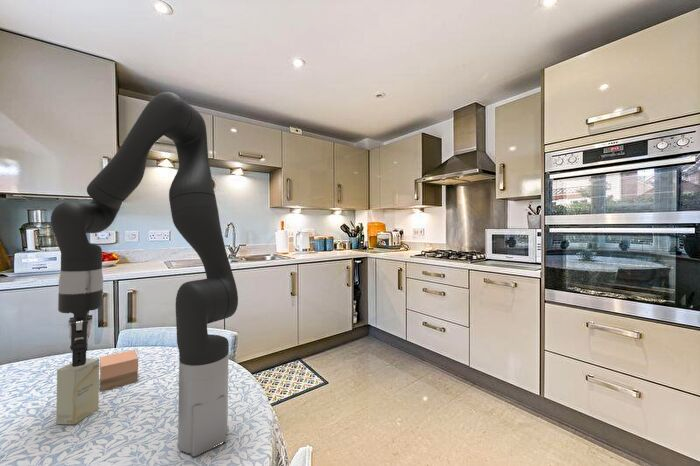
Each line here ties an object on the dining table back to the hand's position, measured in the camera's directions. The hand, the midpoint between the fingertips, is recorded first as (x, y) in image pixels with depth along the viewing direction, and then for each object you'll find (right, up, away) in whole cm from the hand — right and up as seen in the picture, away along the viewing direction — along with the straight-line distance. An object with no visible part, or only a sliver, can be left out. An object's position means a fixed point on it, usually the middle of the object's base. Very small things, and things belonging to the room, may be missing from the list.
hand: (80, 358), depth 67 cm
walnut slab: (-3, -13, +15) cm, 21 cm away
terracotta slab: (-3, -10, +15) cm, 18 cm away
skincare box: (0, -13, 0) cm, 13 cm away
